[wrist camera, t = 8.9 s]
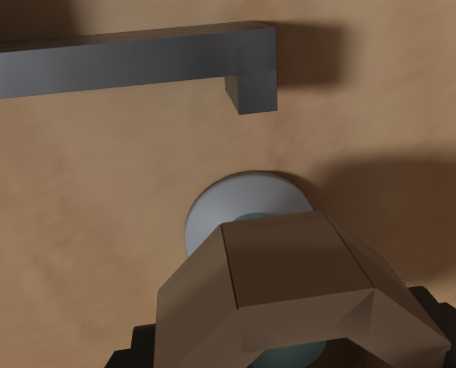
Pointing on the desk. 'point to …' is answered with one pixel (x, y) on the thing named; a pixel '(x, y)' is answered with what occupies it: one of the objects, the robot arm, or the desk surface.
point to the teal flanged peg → (243, 210)
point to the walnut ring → (291, 300)
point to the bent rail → (149, 62)
